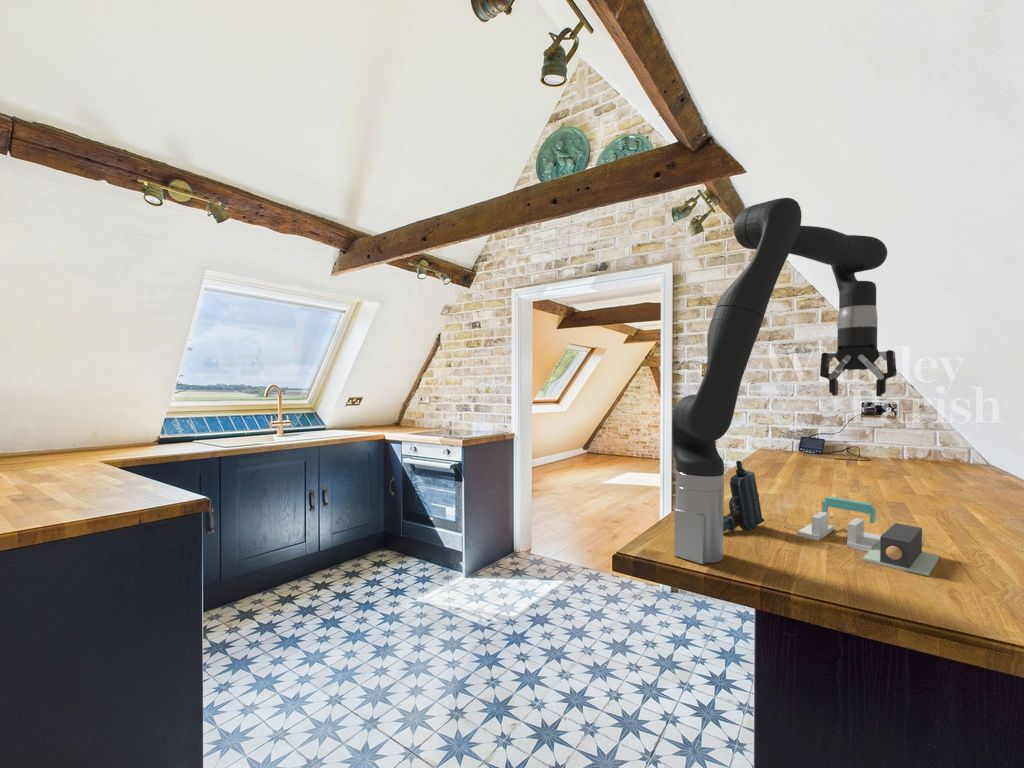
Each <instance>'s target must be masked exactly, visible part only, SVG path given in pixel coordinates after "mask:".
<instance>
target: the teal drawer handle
mask: <svg viewBox="0 0 1024 768" xmlns="http://www.w3.org/2000/svg"><path fill="white" fill-rule="evenodd" d="M821 504H822V505H821V507H822V508H821V512H827V513H828V514H829V508H836V509H841V510H846V511H852V512H857V513H865V514H869V523H870V524H874V523H876V520H877V519H876V516H877V515H876V514H877V513H876V511H877V509H876V508H874V507H873V506H874V505H873V503H871V502H865V501H859V500H854V499H853V500H852V499H846V498H840V497H834V496H829V495H828V496H826V497H824V500H823V501H822V503H821Z"/></svg>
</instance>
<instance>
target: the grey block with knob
mask: <svg viewBox="0 0 1024 768" xmlns="http://www.w3.org/2000/svg"><path fill="white" fill-rule="evenodd" d="M921 552H923V527H920V526H919V527H918V526H913V525H910V524H909V525H908V524H905V523H904V524H902V523H897V522H895V523H894V524H893V525H891V526H890V527H889V528H888V529H887V530H886V531H885V532H884V533H882V536H880V562H884V563H888V564H892V565H896V566H901V567H905V568H910V567H911V565H912V564H913V563H914V561H915V560H916V559H917V557H918V556H919V555H920V553H921Z"/></svg>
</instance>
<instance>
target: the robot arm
mask: <svg viewBox="0 0 1024 768" xmlns="http://www.w3.org/2000/svg"><path fill="white" fill-rule="evenodd" d="M733 235H734V238H735V240H736V241H737V243H738V244H739V245H740V246H742V247H743V248H745V249H748V250H755V252H754V255H753V257H752V259H751V260H750V263H749V264H748V265H747V266H746V268H745V269H744V270H743V271H742V272H741V273H740V275H738V277H737V278H736V279H734V281H733V282H732V283H731V285H729V287H727V289H726V290H725V291H724V292H723V294H722V295H721V296H720V298H719V299H718V301H717V304H716V307H715V309H714V312H713V315H712V318H711V321H710V323H709V326H708V331H707V343H706V346H707V359H706V361H707V362H706V367H705V371H704V375H703V377H702V380H701V382H700V385H699V387H698V390H697V392H696V394H689V395H686V396H683V397H682V398H681V399H679V400H678V401H677V403H676V404H675V406H674V408H673V412H672V416H671V417H672V420H671V427H672V428H671V432H672V434H671V435H672V436H671V437H672V453H673V458H674V461H675V471H676V472H675V510H674V514H673V515H674V517H673V519H674V520H673V521H674V522H673V523H674V525H673V529H674V530H673V532H674V533H673V537H674V538H673V556H675V557H678V558H681V559H684V560H687V561H691V562H694V563H697V564H700V565H704V564H711V563H712V564H713V563H719V562H721V561H723V560H724V532H723V516H725V515H724V510H725V509H724V506H725V504H724V503H725V502H724V499H725V498H724V494H725V493H724V492H725V491H724V489H725V463H724V460H723V458H722V457H721V455H720V453H719V451H718V448H717V445H716V444H717V441H718V440H719V439H721V438H723V436H725V434H726V433H727V431H728V430H729V428H730V426H731V425H732V421H733V418H734V414H735V409H736V404H737V399H738V396H739V392H740V391H739V390H740V388H741V383H742V380H743V378H744V377H743V376H744V373H745V371H746V368H747V365H748V362H749V360H750V357H751V354H752V351H753V348H754V346H755V343H756V340H757V338H758V335H759V332H760V330H761V326H762V324H763V321H764V319H765V314H766V311H767V309H768V306H769V302H770V299H771V297H772V293H773V292H774V289H775V286H776V284H777V281H778V278H779V276H780V274H781V272H782V269H783V267H784V264H786V261H787V259H788V257H789V255H794V256H798V257H802V258H805V259H809V260H812V261H816V262H818V263H822V264H824V265H829V266H830V267H831V270H832V273H833V275H834V279H835V282H836V285H837V288H838V294H839V295H838V296H839V297H838V299H839V300H838V302H839V303H838V306H839V307H838V316H837V324H836V327H837V339H836V340H837V341H836V342H837V346H836V347H837V349H836V352H835V353H834V352H833V353H832V352H831V353H830V352H822V353H821V356H820V357H821V358H820V368H819V376H820V377H821V378H825V379H827V380H828V381H829V382H828V387H829V388H828V391H829V393H830V394H831V395H832V396H834V397H835V396H836V397H837V396H838V395H839V380H838V378H839V377H840V376H841V374H843V373H844V372H845V371H846V370H847V371H856V370H861V371H866V370H869V372H871V373H872V374H873V375H874V376H875V377H876V382H875V383H876V385H875V386H876V388H875V389H876V391H875V393H876V397H883V394H886V392H887V389H886V388H887V385H886V384H887V379H891V378H894V377H897V363H896V361H897V360H896V351H894V350H891V349H889V350H887V351H879V350H878V311H877V310H878V309H877V285H876V283H875V282H873V281H870V280H857V277H856V275H855V274H856V273H861V272H866V271H871V270H874V269H877V268H879V267H881V266H882V265H883V264H884V263H885V261H886V260H887V257H888V248H887V246H886V245H885V243H884V242H883V241H882V240H881V239H879V238H878V237H877V238H876V237H874V236H868V235H857V234H845V233H843V232H840V231H837V230H834V229H831V228H829V227H823V226H822V227H821V226H812V225H802V209H801V206H800V204H799V202H798V201H797V200H795V199H794V198H791V197H781V198H775V199H771V200H768V201H764V202H761V203H760V202H759V203H756V204H753V205H750V206H747V207H746V208H744V209H743V210H741V211H740V212H739V213H738V215H737V216H736V218H735V220H734V224H733ZM880 357H881V358H882V360H883V361H886V372H883V371H882V370H881V368H880V367H879V366H878V365H877V364H876V363H875V362H876V361H878V359H879V358H880ZM834 358H835V359H836V361H837V362H838V364H837V366H835V367H834V369H833V371H832V372H831V373H830V363H831V362H832V361H833V360H834Z"/></svg>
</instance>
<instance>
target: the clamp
mask: <svg viewBox="0 0 1024 768" xmlns="http://www.w3.org/2000/svg"><path fill="white" fill-rule="evenodd" d="M834 530H835V525H831V524H829V512H828V513H827V512H822V511H819V512H817V513H816V514H814V515H813V516H811V523H809V524H807V525H806V526H804V527H803V528H801V529H798V530H797V532H796V536H797V537H800V538H801V537H802V538H805V539H809V540H814V541H815V540H816V541H820V540H821V539H823V538H825V537H826V536H827V535H829V534H831V533H832V532H833V531H834ZM864 530H865V518H859V517H856V518H854V519H852V520H851V521H850V522H848V523H847V542H846V547H847V548H849V549H854V550H858V551H863V552H867V553H868V552H869V551H870V550H871V549H872V548H873V547H874V546H875V545H876V544H878V543H880V536H882V535H883V534H882V535H880V534H876V533H871V532H865V531H864Z"/></svg>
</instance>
